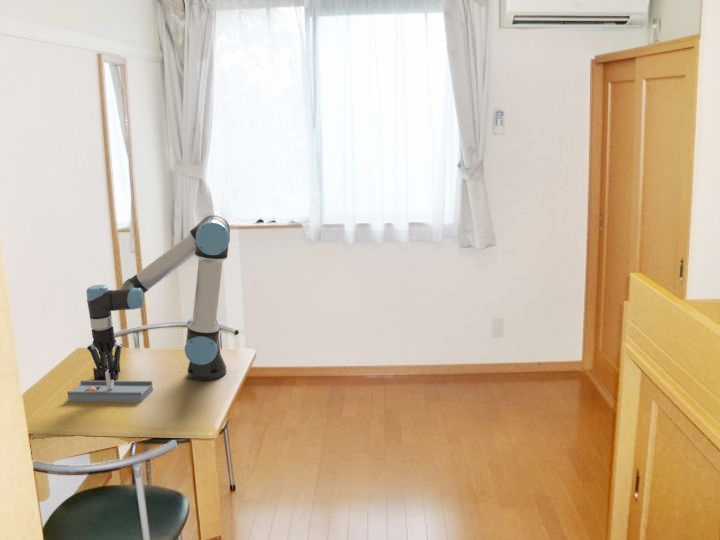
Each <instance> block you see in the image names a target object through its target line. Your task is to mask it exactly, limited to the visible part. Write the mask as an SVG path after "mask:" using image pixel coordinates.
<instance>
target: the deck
mask: <svg viewBox="0 0 720 540" xmlns="http://www.w3.org/2000/svg"><path fill="white" fill-rule="evenodd" d="M79 383H80V384H79V385H78V386H77V387H76V388H74V389H73V390H72V391H71V390H70V391H67V399H68V402H72V403H73V402H75V403H76V402H78V403H79V402H83V403H85V402H89V403H90V402H92V403H95V402H97V403H101V402H103V403H142V402H143V401H144V400H145V399H147V397H149V395H150V394H151V393H152V392H153V390H154V387H153V381H152V380H114V387H113V388H112V389H107V382H106V381H95V380H80V382H79ZM90 387H95V388H96V389H97V391H87V390H88V388H90Z"/></svg>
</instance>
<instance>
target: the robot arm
mask: <svg viewBox="0 0 720 540" xmlns="http://www.w3.org/2000/svg"><path fill="white" fill-rule="evenodd" d="M230 228H231V227H230V225H229V223H228V221H227V220H226V219H225V218H223V217H222V216H219V215H217V214H216V215H215V214H214V215H213V214H212V215H208V216H206V217H204V218H203V219H202V220H201V221H200V222H199V223H198V224H197V225H196V226H195V227H194V228H192V229H191V230H189V235H187V236H186V237H184V238H183V239H182V240H181V241H179V242H178V243H177V244H175V245H173V246H172V247H171V248H169V250H167V251H166V252H164V253H163V254H161V255H160V256H159V257H158V258H156V259H154V260H153V261H152V262H151V263H149V264H148V265H147V266H146V267H144V268H143V269H142V270H140V271H139V272H137V273H136V274H135V275H133V276H132V277H130V278H128V279H127V280H125V281H124V282H123V283H122V286H121V288H120V289H110V290H109V287H108V285H105V284H95V285H92V286H88V287H87V289H86V302H87V307H88V313H89V320H90V328H91V334H92V338H93V341H92V343H91V344H89V345H88V346H87V348H86V349H87V350H88V351H89V353H90V354H91V357H92V360H93V362H94V364H95V367H97V370H101V371H102V372H103V376H104V380H106V382H107V389H112V388H113V387H114V381H115V380H113V379H115V372H114V370H116V369H118V368H119V363H120V361H121V352H122V351H121V350H122V348H123V347H124V345H123V344H122V343H118V342H117V340H116V339H115V331H114V326H113V325H114V324H113V323H114V322H113V317H112V312H113V311H114V312H116V311H126V310H136V309H142V308H143V307H144V305H145V294H146V293H147V292H148V291H149V290H150V289H152V288H153V287H154V286H156V285H158V284H159V283H160V282H161V281H163V280H164V279H165V278H166V277H168V276H169V275H171V274H172V273H175V271H176V270H178V269H180V267H182V266H183V265H184V264H186V263H187V262H188V261H190V260H191V259H192V258H194V257H196V258H197V259H198V260H197V261H198V262H197V271H196V272H197V273H196V284H195V294H194V302H193V311H192V318H191V319H188V320H187V323H186V328H187V330H186V341H185V345H184V353H185V356H186V358H187V360H188V367H187V378H188V379H190V380H192V381H200V382H201V381H213V380H216V379H219V378H222V377H223V376H225V375H226V373H227V365H226V364H225V360H224V358H223V356H222V354H221V346H220V344H221V343H220V336H219V335H220V326H219V322H218V319H217V318H218V317H217V316H218V307H219V298H220V291H221V290H220V288H221V278H222V270H223V262H225V260H226V259H227V258H228V256H229V255H228V253H229V245H230V239H231V235H230V234H231V229H230ZM113 349H114V350H115V351H114V350H113ZM113 351H114V355H113ZM106 356H107V358H106ZM113 356H114V360H113ZM107 362H108V365H107ZM107 369H109V370H107Z"/></svg>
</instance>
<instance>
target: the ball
mask: <svg viewBox="0 0 720 540" xmlns="http://www.w3.org/2000/svg"><path fill="white" fill-rule="evenodd" d="M87 391H97V389H96V388H95V387H90V388H88V390H87Z"/></svg>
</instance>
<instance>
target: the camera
mask: <svg viewBox="0 0 720 540" xmlns="http://www.w3.org/2000/svg"><path fill="white" fill-rule="evenodd" d="M106 358H107V356H106ZM113 360H114V355H113ZM120 364H121V363H120V362H119V368H118V369H116V370H114V372H115V379H113V380H114V381H118V379H119V374H120V372H121V365H120ZM107 365H108V362H107ZM92 369H93V379H94V381H106V380H104V376H103V372H102V371H101V370H97V367H96V366H95V367H93V368H92ZM107 370H109V369H107Z"/></svg>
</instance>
